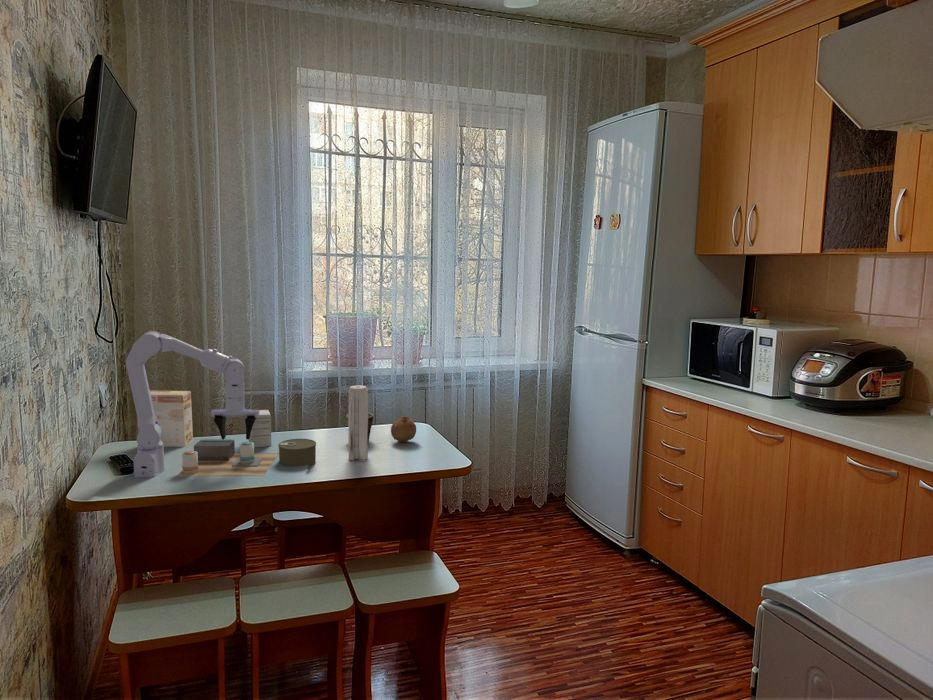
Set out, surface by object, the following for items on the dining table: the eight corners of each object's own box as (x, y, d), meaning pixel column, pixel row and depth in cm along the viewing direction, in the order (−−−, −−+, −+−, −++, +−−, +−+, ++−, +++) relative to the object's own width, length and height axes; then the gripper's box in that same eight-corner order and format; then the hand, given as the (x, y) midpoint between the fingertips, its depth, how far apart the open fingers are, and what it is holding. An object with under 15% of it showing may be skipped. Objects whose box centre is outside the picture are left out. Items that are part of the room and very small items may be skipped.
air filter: (371, 457, 220) (371, 386, 216) (359, 462, 214) (359, 389, 211) (357, 454, 223) (357, 383, 219) (344, 459, 217) (344, 386, 214)
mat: (257, 466, 205) (257, 465, 205) (231, 466, 204) (231, 465, 204) (263, 458, 213) (263, 457, 213) (238, 458, 212) (238, 457, 212)
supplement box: (248, 444, 231) (247, 410, 230) (269, 443, 234) (268, 409, 232) (249, 450, 225) (248, 415, 223) (271, 448, 227) (271, 413, 226)
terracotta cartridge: (195, 474, 196) (194, 454, 196) (180, 474, 196) (179, 454, 195) (200, 469, 201) (199, 450, 200) (185, 469, 201) (184, 450, 200)
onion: (418, 445, 235) (418, 418, 234) (392, 446, 233) (392, 420, 231) (413, 438, 244) (413, 412, 243) (388, 439, 242) (389, 413, 240)
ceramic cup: (346, 438, 243) (346, 412, 241) (372, 437, 244) (373, 411, 243) (346, 448, 230) (346, 421, 229) (374, 447, 232) (374, 420, 230)
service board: (263, 478, 197) (263, 475, 196) (175, 479, 194) (175, 476, 194) (279, 455, 219) (279, 453, 219) (200, 456, 217) (200, 453, 217)
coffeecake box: (193, 443, 231) (191, 390, 228) (184, 449, 224) (182, 394, 221) (152, 442, 231) (150, 389, 229) (142, 448, 224) (139, 393, 222)
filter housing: (228, 460, 210) (228, 445, 209) (194, 460, 209) (193, 445, 208) (235, 453, 217) (234, 438, 217) (201, 453, 216) (201, 438, 216)
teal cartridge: (256, 459, 211) (255, 441, 210) (252, 463, 206) (252, 445, 206) (242, 459, 211) (241, 441, 210) (238, 463, 206) (237, 444, 205)
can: (312, 469, 206) (312, 449, 205) (274, 469, 206) (274, 448, 205) (319, 458, 218) (319, 438, 217) (283, 457, 218) (283, 438, 217)
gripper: (261, 394, 208) (261, 435, 210) (215, 394, 207) (216, 434, 209) (256, 399, 201) (256, 441, 203) (208, 398, 200) (209, 440, 202)
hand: (235, 438), depth 206 cm, fingers open, 7 cm apart
